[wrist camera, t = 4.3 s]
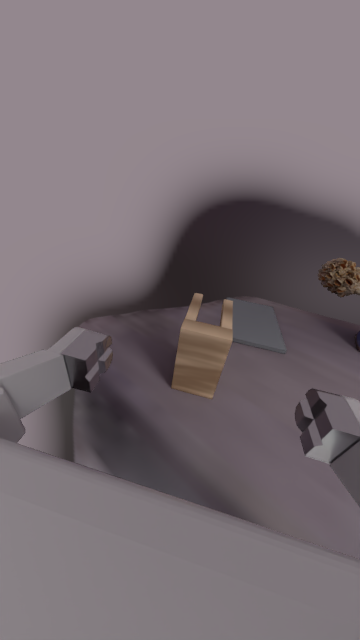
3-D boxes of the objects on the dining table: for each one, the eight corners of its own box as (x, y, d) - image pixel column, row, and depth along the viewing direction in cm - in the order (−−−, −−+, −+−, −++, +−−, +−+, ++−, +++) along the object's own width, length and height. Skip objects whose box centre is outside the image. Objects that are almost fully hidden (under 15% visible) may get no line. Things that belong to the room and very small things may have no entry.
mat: (284, 353, 36) (286, 350, 36) (223, 339, 37) (224, 335, 37) (271, 309, 49) (272, 306, 49) (226, 300, 51) (226, 297, 50)
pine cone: (303, 282, 69) (318, 252, 63) (325, 282, 71) (341, 253, 66) (365, 319, 51) (393, 283, 46) (391, 318, 54) (421, 283, 48)
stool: (211, 399, 27) (232, 340, 21) (171, 388, 27) (180, 328, 22) (216, 353, 34) (233, 301, 28) (184, 345, 35) (194, 292, 29)
